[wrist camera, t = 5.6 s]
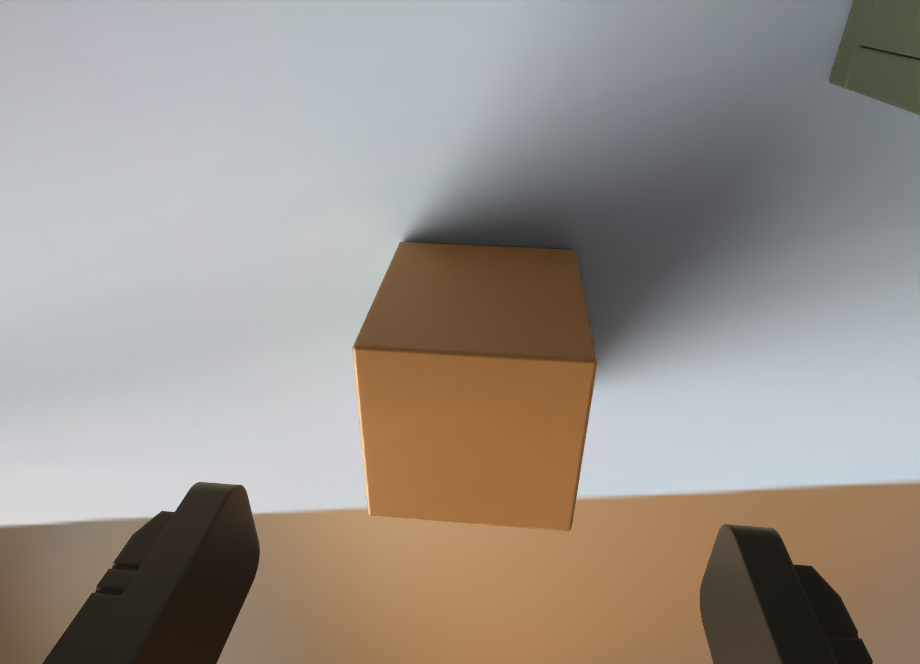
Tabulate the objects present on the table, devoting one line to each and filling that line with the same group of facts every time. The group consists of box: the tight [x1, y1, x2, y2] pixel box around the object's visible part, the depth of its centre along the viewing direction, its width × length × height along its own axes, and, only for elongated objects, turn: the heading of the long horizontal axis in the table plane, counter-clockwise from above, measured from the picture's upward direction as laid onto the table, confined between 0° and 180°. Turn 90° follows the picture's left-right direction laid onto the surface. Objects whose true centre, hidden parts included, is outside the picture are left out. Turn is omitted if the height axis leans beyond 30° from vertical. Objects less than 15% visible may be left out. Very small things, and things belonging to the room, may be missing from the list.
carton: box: [353, 242, 597, 531], centre depth 15 cm, size 5×5×5 cm
